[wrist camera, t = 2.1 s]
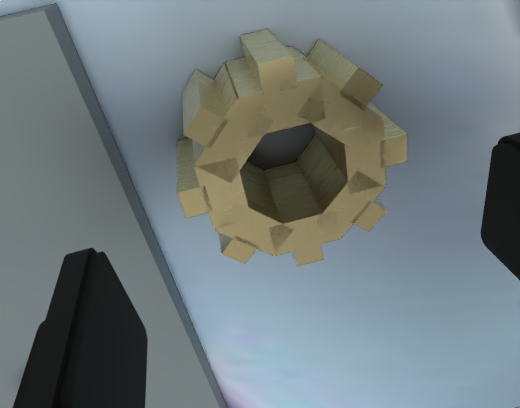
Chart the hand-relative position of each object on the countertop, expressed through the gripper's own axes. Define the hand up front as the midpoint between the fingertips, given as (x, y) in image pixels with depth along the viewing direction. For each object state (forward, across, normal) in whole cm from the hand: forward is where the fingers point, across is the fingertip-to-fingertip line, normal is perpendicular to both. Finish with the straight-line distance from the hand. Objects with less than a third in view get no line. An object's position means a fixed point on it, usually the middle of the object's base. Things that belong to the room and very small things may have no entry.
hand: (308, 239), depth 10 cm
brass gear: (+8, -1, +1) cm, 8 cm away
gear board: (+8, +12, +10) cm, 17 cm away
